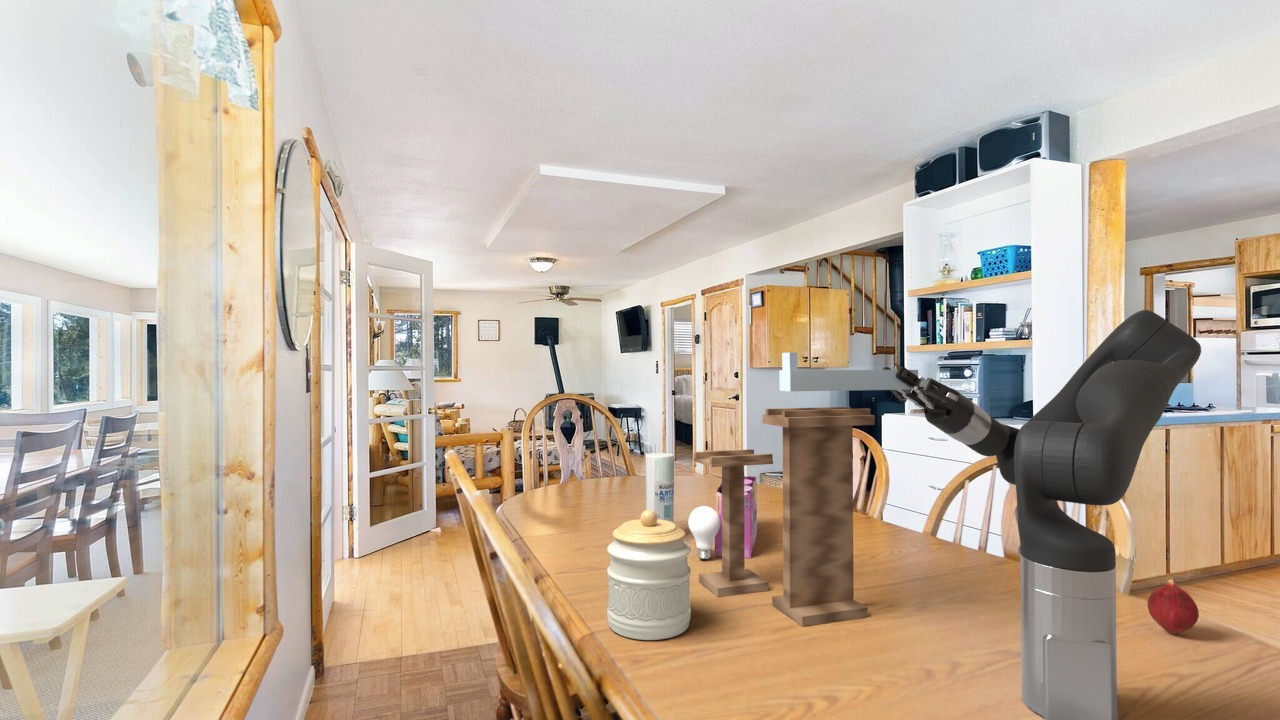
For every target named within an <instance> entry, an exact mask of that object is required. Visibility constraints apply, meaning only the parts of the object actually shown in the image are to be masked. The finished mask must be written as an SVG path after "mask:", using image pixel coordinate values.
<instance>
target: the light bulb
mask: <svg viewBox="0 0 1280 720" xmlns="http://www.w3.org/2000/svg"><path fill="white" fill-rule="evenodd" d="M687 524H688V527H689V530H690V532H691V534H692V535H693V537H694V540H695V545H696V548H697V552H696V553H697V555H696V556H697V557H698V558H700V559H701V560H704V561H705V560H709V559H710V558H711V557H712V555H713V554H712V548H713V545H714V541H715V536H716V534H717V533H718V531H719V528H720V518H719V515H718V513H717V512H716V511H715V509H714V508H712V507H711V506H707V505H702V506H697V507H696V508H694V509H693V510H692V511H691V513H690V515H689V517H688V522H687Z"/></svg>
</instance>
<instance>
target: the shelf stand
mask: <svg viewBox="0 0 1280 720" xmlns="http://www.w3.org/2000/svg"><path fill="white" fill-rule="evenodd" d="M761 416H762V417H761V419H762V422H761V423H762V424H763V425H770V426H775V427H781V428H782V561H783V562H782V576H783V578H782V579H783V581H782V583H783V584H782V587H783V590H782V593H783V595H782V594H781V595H774V596H772V601H771V602H772V603H771V605H772V607H774V608H775V609H777V610H778V611H780V613H782V614H784V615H785V616H787V618H790V619H791V620H793V621H794V622H795V623H797V624H798V625H799V626H800V627H808V626H814V625H816V626H817V625H821V624H828V623H834V622H835V623H836V622H841V621H848V620H854V619H860V618H861V619H862V618H868V617H869V615H868V611H869V609H868V606H866V605H864V604H862V603H861V602H858V600H855V598H854V595H855V593H854V590H855V589H854V587H855V586H854V579H855V578H854V457H853V456H854V453H853V450H854V449H853V447H854V445H853V443H854V441H853V440H854V439H853V437H854V436H853V435H854V434H853V433H854V432H853V430H854V427H853V426H874V425H876V424H875V423H876V419H875V415H874V414H871V408H851V406H836V407H835V406H829V407H828V406H825V407H786V408H765V414H762V415H761Z"/></svg>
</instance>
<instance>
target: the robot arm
mask: <svg viewBox="0 0 1280 720" xmlns="http://www.w3.org/2000/svg"><path fill="white" fill-rule="evenodd" d="M1201 354H1202V346H1201V344H1200V343H1199V342H1198V341H1197V340H1196V339H1195V337H1193V336H1191V335H1190V334H1189V333H1187V332H1186V331H1184V330H1183V329H1181V328H1179V327H1178V326H1176V325H1175V324H1173V323H1172V322H1170V321H1168V320H1167V319H1165V318H1164V317H1162V316H1161V315H1159V314H1157V313H1156V312H1154V311H1152V310H1149V309H1143V310H1138V311H1137V312H1134V313H1132V315H1130V316H1129V317H1127V318H1126V319H1125V320H1123V321H1122V322H1121V323H1120V324H1118V326H1117V327H1115V328H1114V329H1113V331H1112V332H1110V333H1109V334H1108V336H1107V337H1106V338H1105V339H1104V340H1103V341H1102V342H1101V343H1100V344H1099V345H1098V347H1097V348H1096V349H1095V350H1094V351H1093V352H1092V353H1091V354H1090V355H1089V356H1088V357H1087V359H1085V361H1084V362H1083V363H1082V364H1081V366H1080V367H1079V368H1078V369H1077V370H1076V371H1075V373H1074V374H1073V375H1072V376H1071V377H1070V379H1068V381H1067V382H1066V384H1065V385H1064V386H1063V387H1062V389H1060V390H1059V392H1057V394H1056V395H1055V396H1054V397H1053V398H1052V399H1051V400H1050V401H1048V402H1047V403H1046V404H1045V405H1044V406H1043V407H1041V409H1040V410H1039V411H1037V412H1036V413H1035V414H1034V415H1033V416H1032V417H1030V419H1029V420H1028V421H1027V422H1025V423H1024V424H1023V425H1021V427H1020V428H1017V427H1014V426H1010V425H1008V424H1005V423H1001V422H999V421H998V420H996V419H995V418H994V417H992V416H991V415H989V413H987V412H986V411H985V410H984V409H983V408H982V407H980V406H979V405H978V404H976V403H974V402H973V401H972V400H971V399H969V398H968V397H966V396H964V395H963V394H962V393H960V391H958V390H956V389H954V388H951V387H949V386H947V385H945V384H944V383H941V382H939V381H937V380H936V379H933V378H931V377H927V379H925V377H923V376H921V375H918V377H917V376H916V375H915V374H913V373H912V372H910V371H909V370H910V369H907V368H906V367H904V366H900V367H898V369H897V370H898V371H897V373H896V378H898V379H899V380H901V381H902V382H903V383H905V384H906V385H908V386H909V387H913V388H912V389H906V390H889V391H890V392H891V393H892V394H893V395H894V397H896V398H897V399H898V400H899V402H901V403H905V404H906V403H907V401H909V402H912V403H913V404H914V405H915V406H916V407H918V408H920V409H923V412H924V417H925V419H926V420H927V422H928V423H929V424H931V425H932V426H934V427H935V428H937V429H939V430H940V431H941V432H943V433H944V434H946V435H947V436H949V437H950V438H952V439H953V440H955V441H957V442H959V443H961V444H963V445H965V446H967V448H970V450H972V451H974V452H975V453H976V454H979V455H981V456H984V457H996V461H997V465H998V470H999V473H1000V474H1001V475H1000V476H1001V477H1002V478H1003V480H1005V481H1006V482H1007V483H1009V484H1011V485H1014V486H1015V491H1016V492H1015V493H1016V507H1017V529H1018V536H1019V545H1020V546H1019V548H1020V550H1019V551H1020V552H1019V553H1020V554H1019V556H1020V557H1019V558H1020V570H1019V571H1020V583H1019V584H1020V657H1021V658H1020V660H1021V661H1020V662H1021V663H1020V665H1021V699H1022V701H1023V703H1024V704H1025V705H1026V707H1027V708H1028V709H1030V710H1032V711H1033V712H1035V713H1037V714H1038V715H1039V716H1041V717H1042V718H1043V719H1044V720H1118V676H1117V675H1118V673H1117V672H1118V670H1117V669H1118V668H1117V667H1118V664H1117V663H1118V662H1117V661H1118V660H1117V659H1118V657H1117V581H1116V580H1117V577H1116V576H1117V574H1116V573H1117V572H1116V571H1117V570H1116V569H1117V567H1116V564H1117V563H1116V562H1117V561H1116V557H1117V553H1116V548H1115V544H1114V542H1112V540H1111V539H1110V538H1108V537H1107V536H1105V535H1104V534H1102V533H1099V532H1098V531H1095V530H1093V529H1091V528H1089V527H1087V526H1085V525H1083V524H1081V523H1079V522H1078V521H1076V520H1075V519H1073V518H1072V517H1070V516H1069V515H1068V514H1067V513H1065V512H1064V511H1063V510H1062V508H1061V507H1060V505H1059V503H1058V502H1065V503H1072V504H1081V505H1089V506H1111V505H1113V504H1116V503H1118V502H1119V501H1120V500H1121V499H1122V498H1123V497H1124V496H1125V495H1126V493H1127V491H1128V489H1129V487H1130V485H1131V482H1132V480H1133V477H1134V474H1135V471H1136V468H1137V465H1138V462H1139V458H1140V455H1141V453H1142V450H1143V447H1144V445H1145V443H1146V441H1147V439H1148V438H1149V436H1150V434H1151V432H1152V430H1153V429H1154V427H1156V425H1157V423H1158V422H1159V420H1160V419H1161V418H1162V415H1163V414H1164V412H1165V410H1166V408H1167V407H1168V404H1169V402H1170V399H1171V397H1172V395H1173V393H1174V391H1175V390H1176V388H1177V387H1178V385H1179V384H1180V383H1181V382H1182V380H1183V379H1184V378H1185V377H1186V376H1187V375H1188V374H1189V372H1190V371H1191V370H1192V369H1193V368H1194V366H1195V365H1196V364H1197V362H1198V361H1199V359H1200V357H1201ZM882 370H893V369H892V368H890V367H889V366H884V367H883V368H882Z"/></svg>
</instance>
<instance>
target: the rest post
mask: <svg viewBox="0 0 1280 720" xmlns="http://www.w3.org/2000/svg"><path fill="white" fill-rule="evenodd" d="M693 453H694V454H693V455H694V458H693V462H696V463H699V464H702V465H705V466H707V467H709V468H721V483H722V556H721V571H716V572H714V571H713V572H705V573H699V574H698V583H699V584H701V586H703V587H704V588H706V589H707V590H708V591H709V592H711V593H712V594H713V595H715V596H716V597H717V598H721V597H728V596H729V597H730V596H737V595H745V594H753V593H762V592H768V591H769V590H770V589H769V588H770V585H769V584H770V582H769V581H768V580H766V579H765V578H763V577H761V576H760V575H758V574H756V573H755V572H753V571H752V570H750V569H748V568H745V558H744V476H745V466H762V465H764V466H765V465H773V464H774V460H773V458H774V457H773V456H774V455H773V453H761V454H760V453H759V454H755V449H730V450H711V451H710V450H709V451H708V450H707V451H694V452H693Z"/></svg>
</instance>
